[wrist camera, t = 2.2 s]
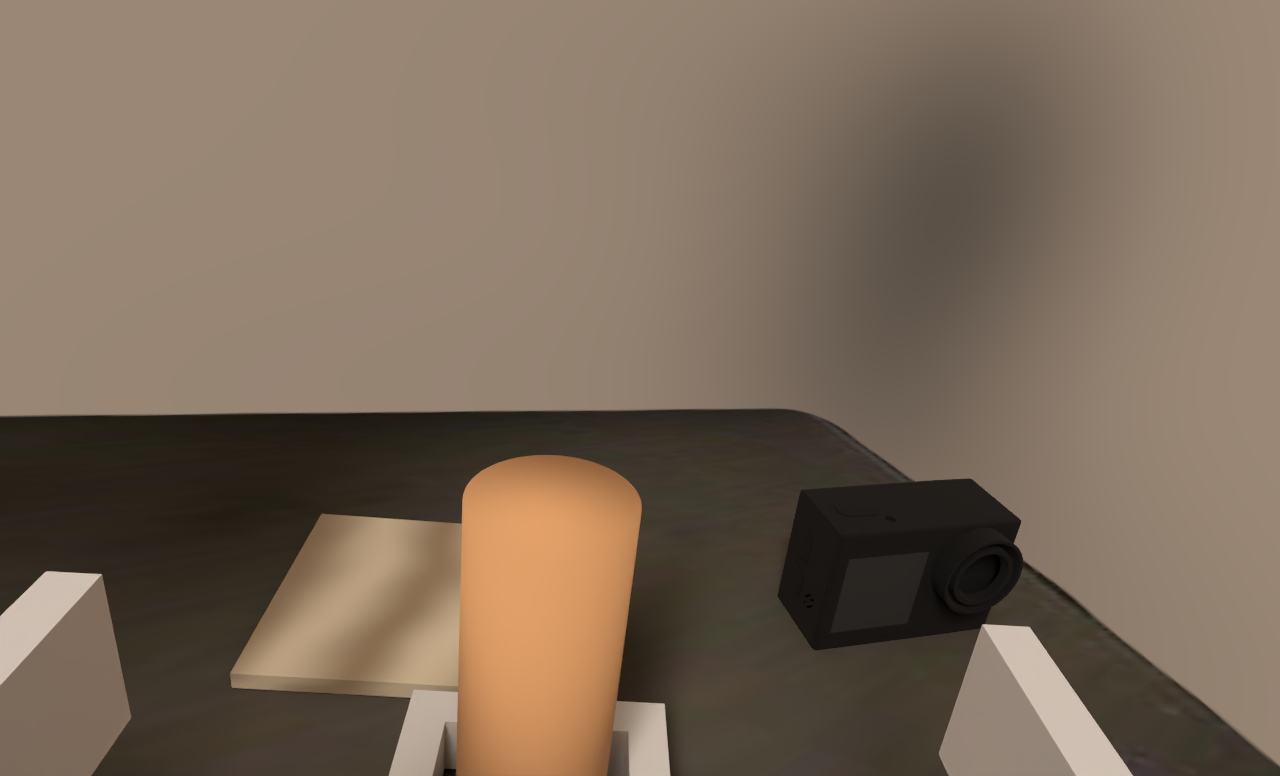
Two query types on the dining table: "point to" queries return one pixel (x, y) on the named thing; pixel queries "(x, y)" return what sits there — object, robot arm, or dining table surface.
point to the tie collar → (433, 738)
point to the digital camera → (897, 561)
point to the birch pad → (362, 612)
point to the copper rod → (543, 615)
